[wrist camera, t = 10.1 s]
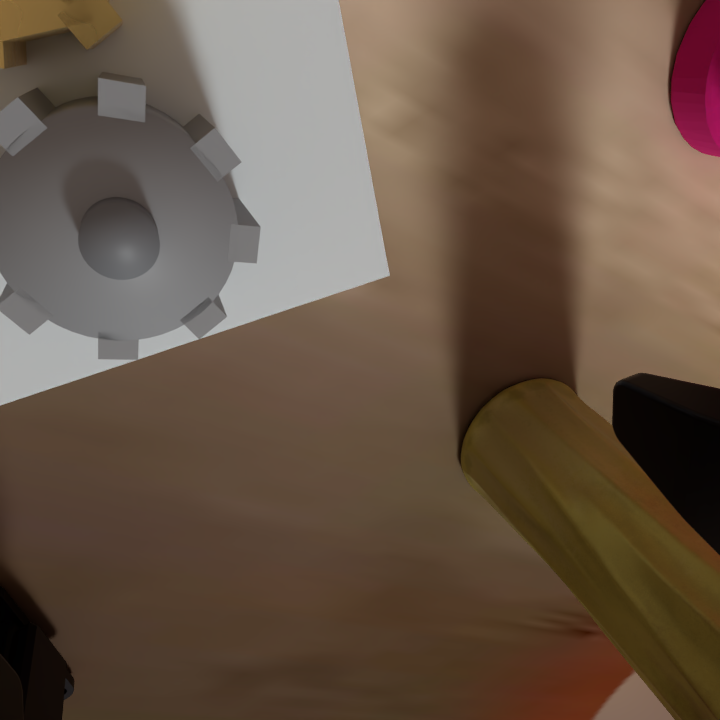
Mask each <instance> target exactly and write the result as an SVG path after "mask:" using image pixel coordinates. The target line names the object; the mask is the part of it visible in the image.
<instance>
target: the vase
mask: <svg viewBox="0 0 720 720" xmlns="http://www.w3.org/2000/svg"><path fill="white" fill-rule="evenodd" d="M461 467H462V470H463V473H464V475H465V477H466V479H467V481H468V483H469V484H470V485H471V487H472V488H474V489H475V490H476V491H477V492H478V493H479V494H480V495H481V496H482V497H483V498H484V499H485V500H486V501H487V502H488V503H489V504H490V505H491V506H492V507H493V508H494V509H495V510H496V511H497V512H498V513H499V514H500V515H501V516H502V517H503V518H504V519H505V520H506V521H507V522H508V523H509V524H510V526H511V527H512V528H513V529H514V530H515V531H516V532H517V533H518V534H519V535H520V536H521V537H522V538H523V539H524V540H525V541H526V542H527V543H528V544H529V545H530V546H531V547H532V548H533V549H534V550H535V551H536V552H537V553H538V555H539V556H540V557H541V558H542V559H543V560H544V561H545V562H546V563H547V564H548V565H549V566H550V567H551V568H552V569H553V570H554V572H555V573H556V574H557V575H558V576H559V577H560V578H561V580H562V581H563V582H564V583H565V584H566V585H567V587H568V588H569V589H570V590H571V592H572V593H573V594H574V595H575V597H576V598H577V599H578V600H579V602H580V603H581V604H582V605H583V606H584V608H585V609H586V610H587V612H588V613H589V614H590V616H591V617H592V618H593V619H594V621H595V622H596V623H597V625H598V626H599V627H600V628H601V630H602V631H603V632H604V634H605V635H606V636H607V637H608V638H609V640H610V641H611V642H612V643H613V645H614V646H615V647H616V648H617V649H618V651H619V652H620V653H621V654H622V656H623V657H624V658H625V659H626V661H627V662H628V663H629V664H630V665H631V667H632V668H633V669H634V670H635V671H636V673H637V674H638V675H639V676H640V678H641V679H642V680H643V681H644V682H645V683H646V685H647V686H648V687H649V688H650V690H651V691H652V692H653V693H654V694H655V696H656V697H657V698H658V699H659V701H660V702H661V703H662V704H663V706H664V707H665V708H666V709H667V711H668V712H669V713H670V714H671V715H672V717H673V718H674V719H675V720H720V555H719V554H718V553H717V552H716V551H715V550H714V549H713V548H712V547H711V546H710V545H709V544H708V543H707V542H706V541H705V540H704V539H703V538H702V537H701V536H700V535H699V534H698V533H697V532H696V531H695V530H694V529H693V528H692V527H691V526H690V525H689V524H688V523H687V522H686V521H685V520H684V519H683V518H682V517H681V515H680V514H679V513H678V512H677V511H676V510H675V509H674V507H673V506H672V505H671V504H670V503H669V501H668V500H667V499H666V498H665V497H664V495H663V494H662V493H661V492H660V490H659V489H658V488H657V487H656V486H655V484H654V483H653V482H652V481H651V480H650V478H649V477H648V476H647V475H646V473H645V472H644V471H643V470H642V469H641V467H640V466H639V465H638V464H637V462H636V461H635V460H634V459H633V458H632V456H631V455H630V454H629V453H628V451H627V450H626V449H625V448H624V447H623V445H622V444H621V443H620V442H619V440H618V439H617V437H616V435H615V433H614V430H613V426H612V425H611V424H610V423H608V422H607V421H606V420H605V419H604V418H603V417H601V416H600V415H599V414H598V413H596V412H595V411H594V410H592V409H591V408H590V407H588V406H587V405H586V404H585V403H584V402H583V401H582V400H581V399H580V398H579V397H578V396H577V395H576V393H575V392H574V391H573V390H572V389H571V388H570V387H569V386H567V385H566V384H564V383H562V382H560V381H556V380H552V379H544V378H539V379H532V380H528V381H524V382H521V383H518V384H516V385H513V386H511V387H509V388H507V389H505V390H503V391H502V392H500V393H499V394H497V395H496V396H495V397H494V398H492V399H491V400H490V401H489V402H488V403H487V404H486V405H485V406H483V407H482V409H481V410H480V411H479V412H478V414H477V415H476V416H475V418H474V419H473V421H472V422H471V424H470V426H469V428H468V430H467V432H466V435H465V437H464V441H463V445H462V451H461Z"/></svg>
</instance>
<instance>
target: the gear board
mask: <svg viewBox="0 0 720 720" xmlns="http://www.w3.org/2000/svg"><path fill="white" fill-rule="evenodd" d="M109 4H110V5H111V6H112V8H113V9H114V10H115V11H116V13H117V14H118V15H119V16H120V18H121V19H122V26H120V27H119V28H118V29H117V30H115V31H114V32H113V33H112V34H111V35H109V36H108V37H107V38H106V39H105V40H103V41H102V42H101V43H100V44H99V45H97V46H96V47H95V48H94V49H89V50H86V49H85V47H84V46H83V45H82V44H81V43H80V41H79V40H78V39H77V38H76V37H75V35H74V34H73V33H72V32H67V33H63V34H58V35H54V36H49V37H45V38H40V39H36V40H31V41H27V42H26V57H27V64H25V65H20V66H16V67H11V68H6V69H3V68H0V405H3V404H6V403H9V402H12V401H15V400H18V399H21V398H24V397H27V396H30V395H33V394H36V393H39V392H42V391H45V390H48V389H51V388H54V387H57V386H60V385H63V384H66V383H69V382H72V381H75V380H78V379H81V378H84V377H87V376H90V375H93V374H96V373H99V372H102V371H105V370H108V369H111V368H114V367H117V366H120V365H123V364H126V363H129V362H132V361H135V360H138V359H141V358H144V357H147V356H150V355H153V354H156V353H159V352H162V351H165V350H168V349H171V348H174V347H177V346H180V345H183V344H186V343H189V342H192V341H195V340H198V339H201V338H204V337H207V336H210V335H213V334H216V333H219V332H222V331H225V330H228V329H231V328H234V327H237V326H240V325H243V324H246V323H249V322H252V321H255V320H258V319H261V318H264V317H267V316H270V315H273V314H276V313H279V312H282V311H285V310H288V309H291V308H294V307H297V306H300V305H303V304H306V303H309V302H312V301H315V300H318V299H321V298H324V297H327V296H330V295H333V294H336V293H339V292H342V291H345V290H348V289H351V288H354V287H357V286H360V285H363V284H366V283H369V282H372V281H375V280H378V279H381V278H384V277H387V276H390V275H389V269H388V264H387V259H386V253H385V248H384V242H383V237H382V232H381V226H380V221H379V216H378V210H377V205H376V199H375V194H374V189H373V183H372V178H371V172H370V167H369V162H368V156H367V151H366V145H365V140H364V135H363V129H362V124H361V118H360V113H359V108H358V102H357V97H356V91H355V86H354V81H353V75H352V70H351V64H350V59H349V54H348V48H347V43H346V37H345V32H344V27H343V21H342V16H341V10H340V5H339V0H110V1H109Z"/></svg>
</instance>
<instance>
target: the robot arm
mask: <svg viewBox="0 0 720 720" xmlns="http://www.w3.org/2000/svg"><path fill="white" fill-rule="evenodd" d="M612 426H613V430H614V433H615V435H616V437H617V439H618V440H619V442H620V443H621V444H622V445H623V447H624V448H625V449H626V450H627V451H628V453H629V454H630V455H631V456H632V458H633V459H634V460H635V461H636V462H637V464H638V465H639V466H640V467H641V469H642V470H643V471H644V472H645V473H646V475H647V476H648V477H649V478H650V480H651V481H652V482H653V483H654V484H655V486H656V487H657V488H658V489H659V490H660V492H661V493H662V494H663V495H664V497H665V498H666V499H667V500H668V501H669V503H670V504H671V505H672V506H673V507H674V509H675V510H676V511H677V512H678V513H679V514H680V515H681V517H682V518H683V519H684V520H685V521H686V522H687V523H688V524H689V525H690V526H691V527H692V528H693V529H694V530H695V531H696V532H697V533H698V534H699V535H700V536H701V537H702V538H703V539H704V540H705V541H706V542H707V543H708V544H709V545H710V546H711V547H712V548H713V549H714V550H715V551H716V552H717V553H718V554H719V555H720V389H719V388H714V387H709V386H704V385H700V384H695V383H690V382H685V381H680V380H676V379H671V378H666V377H661V376H656V375H652V374H647V373H638V374H634V375H632V376H629V377H627V378H624V379H622V380H620V381H618V382H617V383H616V384H615V386H614V389H613V416H612ZM66 668H67V663H66V661H65V660H64V659H63V657H62V656H61V655H60V653H59V652H58V651H57V650H56V648H55V647H54V646H53V644H52V643H51V642H50V640H49V639H48V638H47V637H46V635H45V634H44V633H43V631H42V630H41V629H40V627H39V626H38V625H36V624H34V623H32V622H31V623H30V621H29V620H28V619H27V617H26V616H25V615H24V614H23V612H22V611H21V610H20V608H19V607H18V606H17V605H16V603H15V602H14V601H13V599H12V598H11V597H10V595H9V594H8V593H7V592H6V590H5V589H4V588H2V587H1V586H0V720H62V713H63V701H64V699H66V698H68V697H70V696H71V695H72V693H73V691H74V678H73V677H72V675H71V674H70V673H69V672H68V670H67V669H66Z"/></svg>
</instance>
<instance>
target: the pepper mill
mask: <svg viewBox="0 0 720 720" xmlns="http://www.w3.org/2000/svg"><path fill="white" fill-rule="evenodd" d="M671 105H672V110H673V115H674V120H675V124H676V126H677V127H678V129H679V131H680V133H681V135H682V137H683V138H684V139H685V140H686V141H687V142H688V143H689V145H690V146H691V147H693V148H694V149H696V150H698V151H699V152H701V153H704V154H708V155H712V156H718V157H720V0H706V1H705V2H704V3H703V4H702V6H701V7H700V9H699V10H698V12H697V13H696V15H695V17H694V18H693V20H692V21H691V23H690V24H689V27H688V29H687V31H686V33H685V36H684V38H683V40H682V43H681V45H680V47H679V50H678V52H677V56H676V60H675V65H674V69H673V74H672V79H671Z"/></svg>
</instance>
